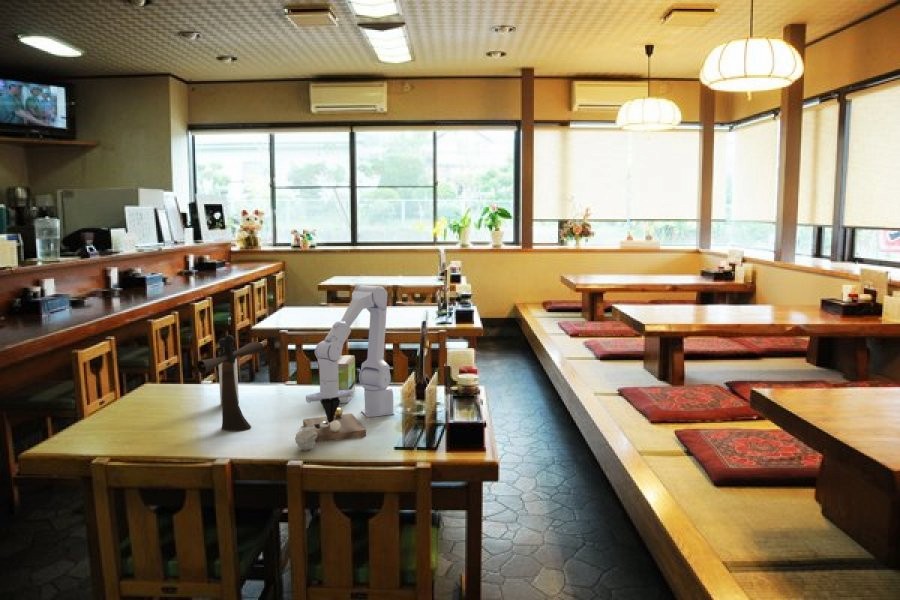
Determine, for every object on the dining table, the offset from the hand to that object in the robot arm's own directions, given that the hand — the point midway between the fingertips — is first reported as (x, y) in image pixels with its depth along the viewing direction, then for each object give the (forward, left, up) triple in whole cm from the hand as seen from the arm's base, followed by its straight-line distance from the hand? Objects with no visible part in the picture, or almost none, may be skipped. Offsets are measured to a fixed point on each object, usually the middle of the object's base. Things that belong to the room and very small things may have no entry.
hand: (330, 421), depth 208 cm
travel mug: (+27, -43, -3) cm, 51 cm away
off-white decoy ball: (0, +7, +1) cm, 7 cm away
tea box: (-11, -36, -3) cm, 38 cm away
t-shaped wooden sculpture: (+27, -15, -3) cm, 31 cm away
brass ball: (-4, -7, 0) cm, 8 cm away
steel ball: (+2, 0, -1) cm, 2 cm away
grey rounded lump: (+10, +14, -3) cm, 17 cm away
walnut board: (-1, 0, -3) cm, 3 cm away
